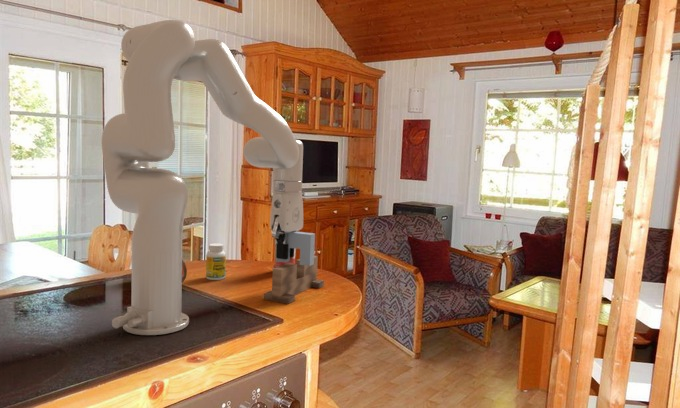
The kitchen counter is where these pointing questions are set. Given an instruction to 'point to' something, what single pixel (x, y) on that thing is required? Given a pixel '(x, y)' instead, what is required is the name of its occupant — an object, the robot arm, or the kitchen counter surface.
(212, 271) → the supplement bottle
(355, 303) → the kitchen counter surface
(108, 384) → the kitchen counter surface
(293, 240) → the blue slotted plate
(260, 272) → the kitchen counter surface
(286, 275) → the walnut slotted rail
